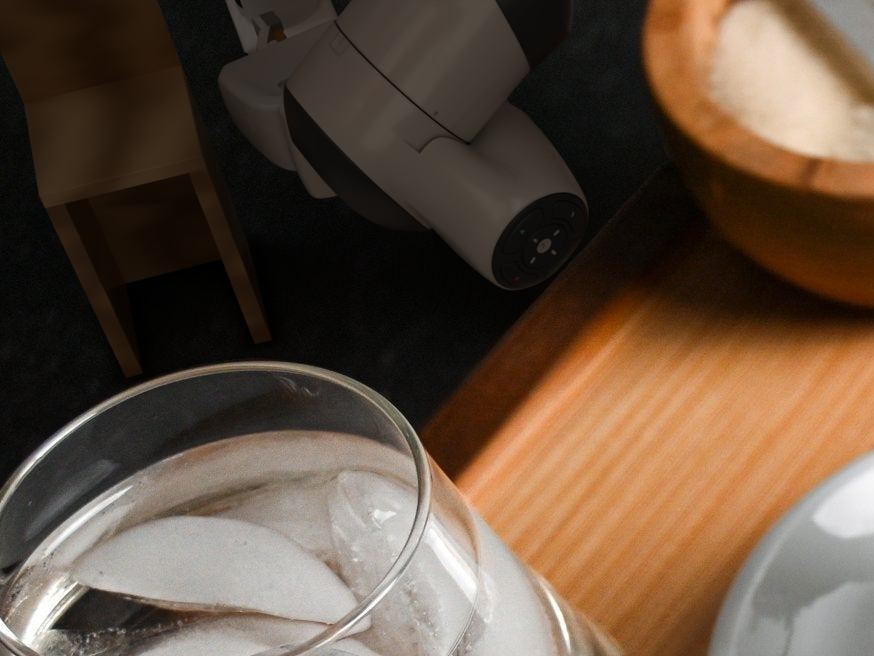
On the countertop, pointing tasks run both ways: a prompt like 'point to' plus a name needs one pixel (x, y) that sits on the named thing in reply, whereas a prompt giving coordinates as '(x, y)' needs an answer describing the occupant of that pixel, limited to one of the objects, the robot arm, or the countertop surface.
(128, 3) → the wooden chair
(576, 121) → the countertop surface
